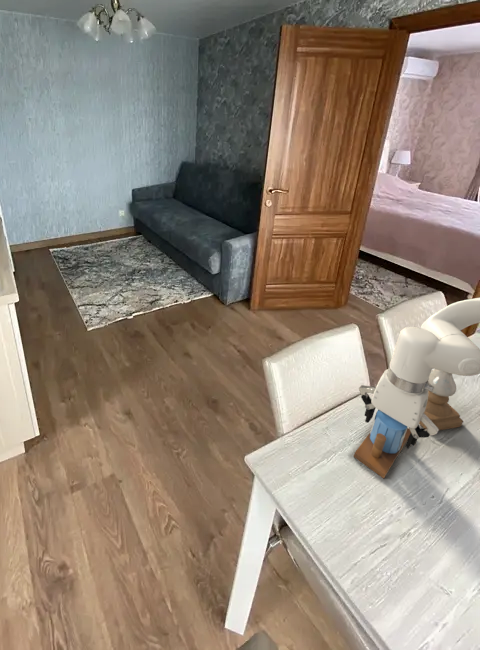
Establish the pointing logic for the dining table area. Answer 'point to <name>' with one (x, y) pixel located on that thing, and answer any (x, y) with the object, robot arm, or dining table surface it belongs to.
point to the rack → (378, 454)
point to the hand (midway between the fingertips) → (388, 431)
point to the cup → (388, 432)
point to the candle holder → (441, 401)
